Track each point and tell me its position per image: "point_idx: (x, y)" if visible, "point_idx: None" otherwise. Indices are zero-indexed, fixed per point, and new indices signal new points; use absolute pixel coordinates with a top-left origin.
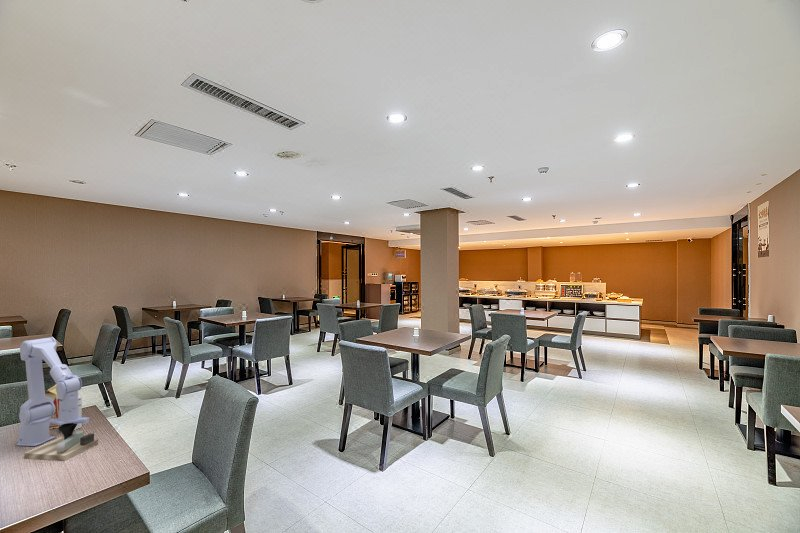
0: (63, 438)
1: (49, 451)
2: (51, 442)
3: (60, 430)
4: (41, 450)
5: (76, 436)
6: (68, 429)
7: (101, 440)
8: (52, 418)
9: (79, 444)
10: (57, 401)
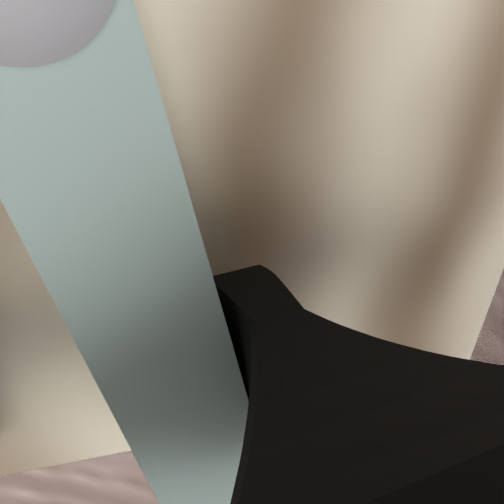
0: None
1: (305, 34)
2: (470, 282)
3: (473, 365)
4: (447, 73)
5: (114, 404)
6: (239, 484)
7: (4, 492)
8: None
9: (22, 311)
10: None
